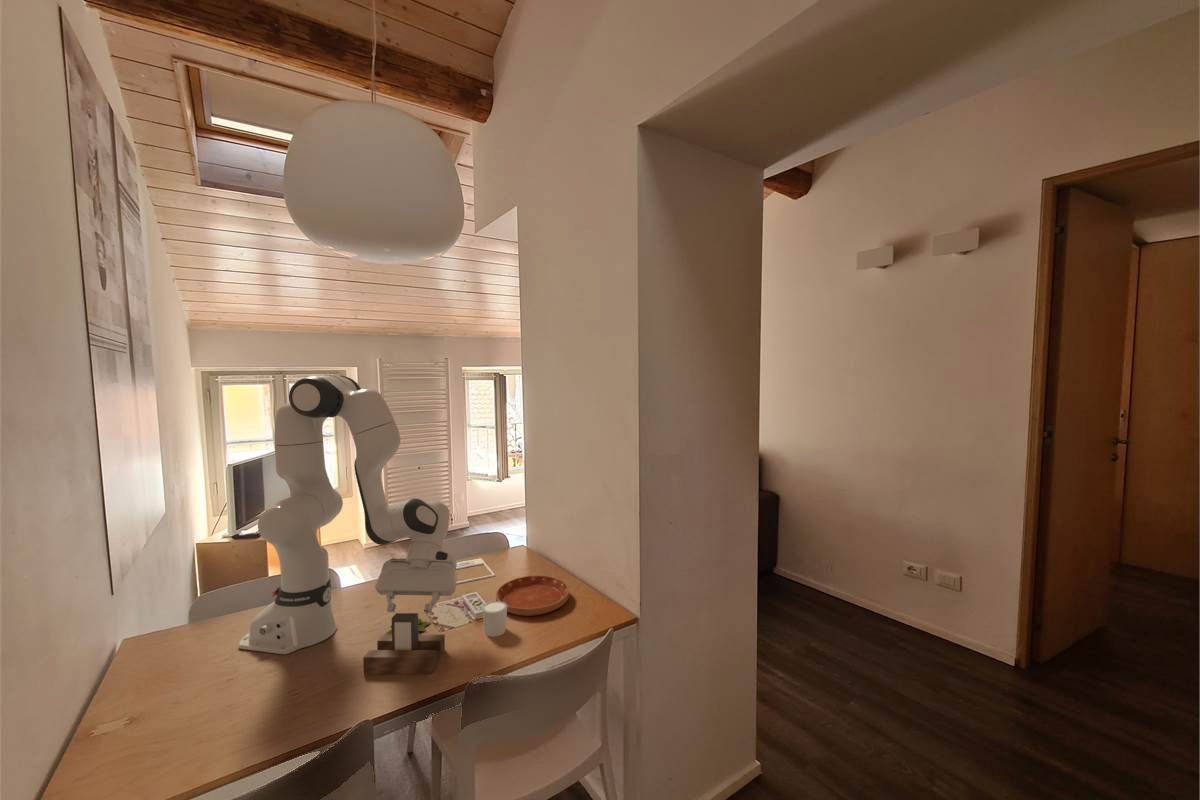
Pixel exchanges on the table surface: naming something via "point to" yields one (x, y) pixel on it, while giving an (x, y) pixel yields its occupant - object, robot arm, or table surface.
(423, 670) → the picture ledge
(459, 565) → the photo frame
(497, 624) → the white cylinder
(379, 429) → the robot arm
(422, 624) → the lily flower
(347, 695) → the table surface
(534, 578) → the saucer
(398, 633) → the small frame
